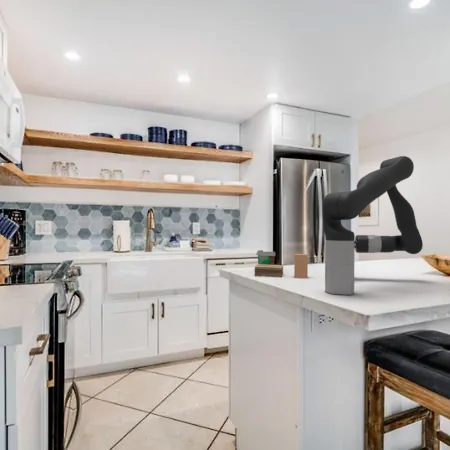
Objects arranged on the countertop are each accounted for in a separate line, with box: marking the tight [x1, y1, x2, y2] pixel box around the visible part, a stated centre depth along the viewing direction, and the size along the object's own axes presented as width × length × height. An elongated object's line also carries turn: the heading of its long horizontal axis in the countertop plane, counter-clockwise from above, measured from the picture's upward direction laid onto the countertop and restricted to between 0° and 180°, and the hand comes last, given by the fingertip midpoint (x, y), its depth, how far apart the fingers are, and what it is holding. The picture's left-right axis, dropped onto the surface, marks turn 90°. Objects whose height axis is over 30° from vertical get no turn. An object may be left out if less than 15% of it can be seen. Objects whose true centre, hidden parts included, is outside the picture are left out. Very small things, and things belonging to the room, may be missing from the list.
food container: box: [256, 250, 276, 265], centre depth 165 cm, size 12×6×10 cm, turn 25°
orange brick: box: [293, 253, 309, 279], centre depth 145 cm, size 6×6×10 cm
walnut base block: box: [254, 263, 284, 278], centre depth 152 cm, size 12×12×4 cm
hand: (327, 243), depth 143 cm, fingers open, 8 cm apart
